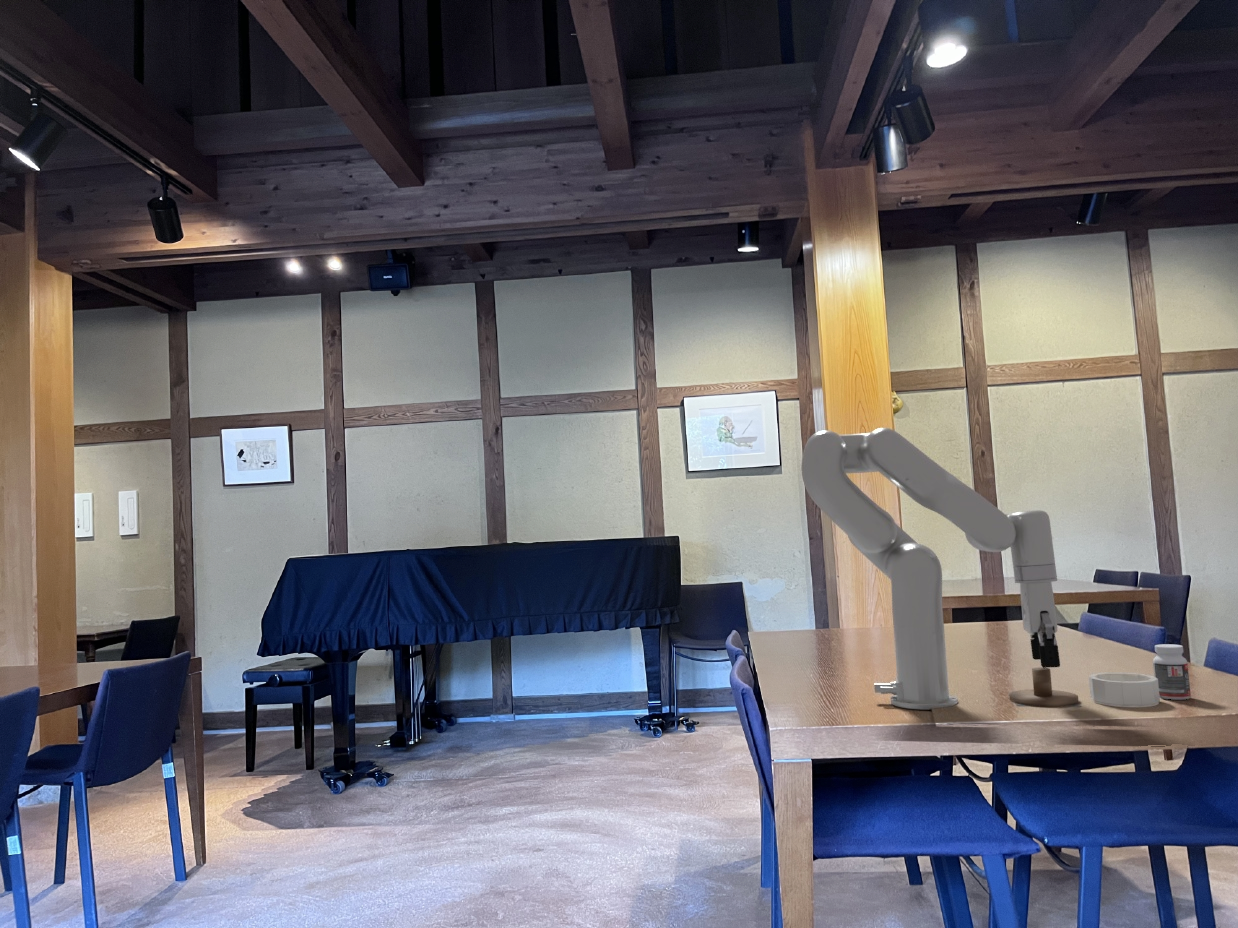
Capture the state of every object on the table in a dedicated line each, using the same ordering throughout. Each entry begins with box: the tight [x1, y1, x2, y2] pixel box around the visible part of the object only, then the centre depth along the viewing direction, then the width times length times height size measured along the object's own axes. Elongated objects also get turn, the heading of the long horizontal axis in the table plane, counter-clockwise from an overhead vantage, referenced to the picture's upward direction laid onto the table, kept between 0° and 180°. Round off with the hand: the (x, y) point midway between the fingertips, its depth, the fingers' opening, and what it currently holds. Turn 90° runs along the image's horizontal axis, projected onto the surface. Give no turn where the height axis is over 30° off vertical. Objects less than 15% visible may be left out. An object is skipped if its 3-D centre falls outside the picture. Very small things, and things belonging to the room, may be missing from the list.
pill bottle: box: [1152, 643, 1192, 701], centre depth 170 cm, size 6×6×10 cm
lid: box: [1008, 667, 1079, 708], centre depth 170 cm, size 12×12×6 cm
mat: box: [1014, 702, 1082, 708], centre depth 170 cm, size 11×11×1 cm
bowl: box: [1088, 672, 1161, 708], centre depth 166 cm, size 11×11×5 cm
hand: (1046, 662), depth 170 cm, fingers open, 9 cm apart
